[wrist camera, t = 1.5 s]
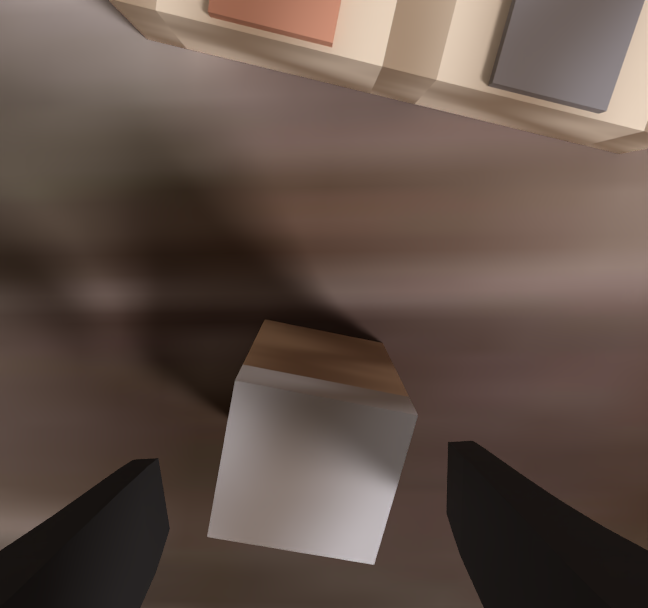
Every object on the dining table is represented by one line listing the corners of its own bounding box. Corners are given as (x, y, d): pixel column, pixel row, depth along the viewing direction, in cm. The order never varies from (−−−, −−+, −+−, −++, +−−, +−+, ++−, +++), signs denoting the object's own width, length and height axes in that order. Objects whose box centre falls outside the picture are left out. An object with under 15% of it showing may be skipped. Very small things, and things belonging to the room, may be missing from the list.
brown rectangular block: (382, 342, 15) (417, 415, 10) (355, 446, 16) (373, 564, 11) (264, 318, 15) (234, 380, 9) (244, 426, 16) (207, 536, 10)
